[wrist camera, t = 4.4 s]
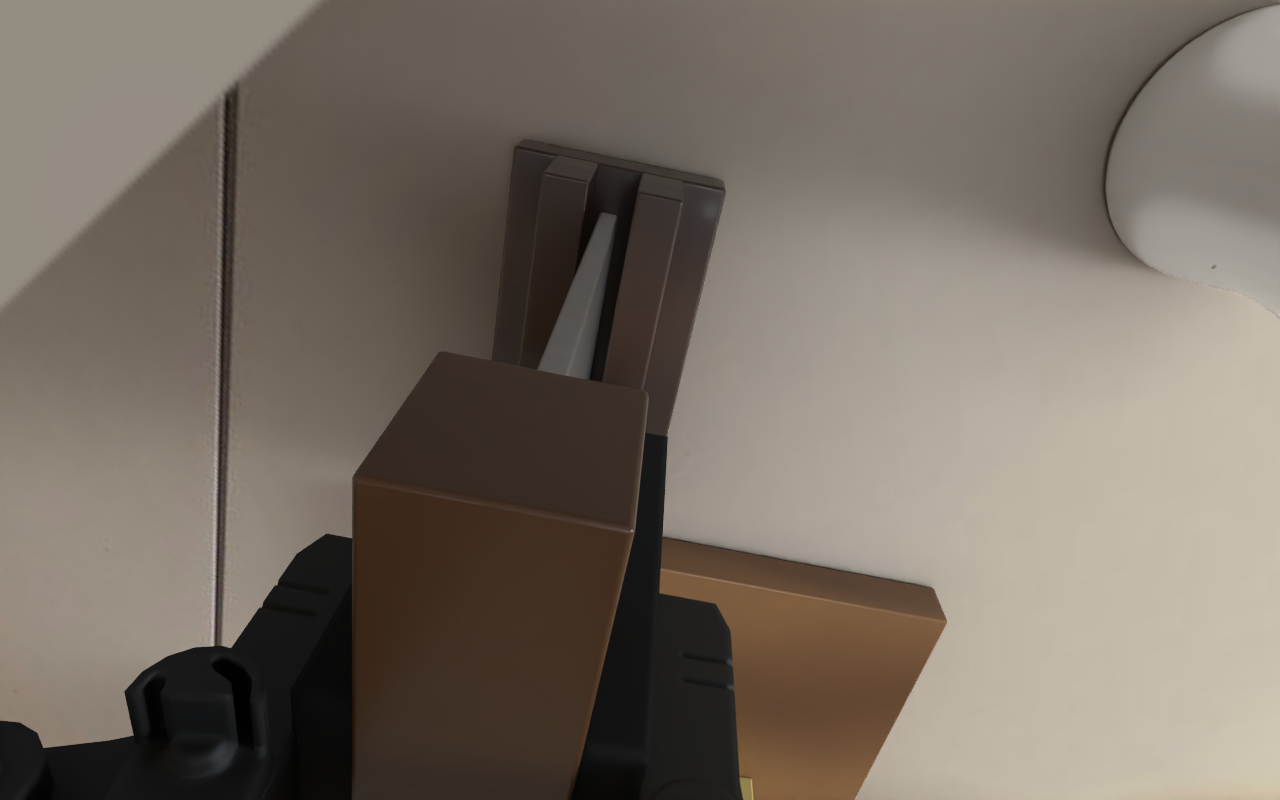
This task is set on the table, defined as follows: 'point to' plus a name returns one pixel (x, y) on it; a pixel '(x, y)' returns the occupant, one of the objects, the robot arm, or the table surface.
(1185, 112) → the beer glass
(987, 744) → the table surface
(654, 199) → the knife holder
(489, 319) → the table surface
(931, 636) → the board
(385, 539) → the cleaver
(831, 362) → the table surface
